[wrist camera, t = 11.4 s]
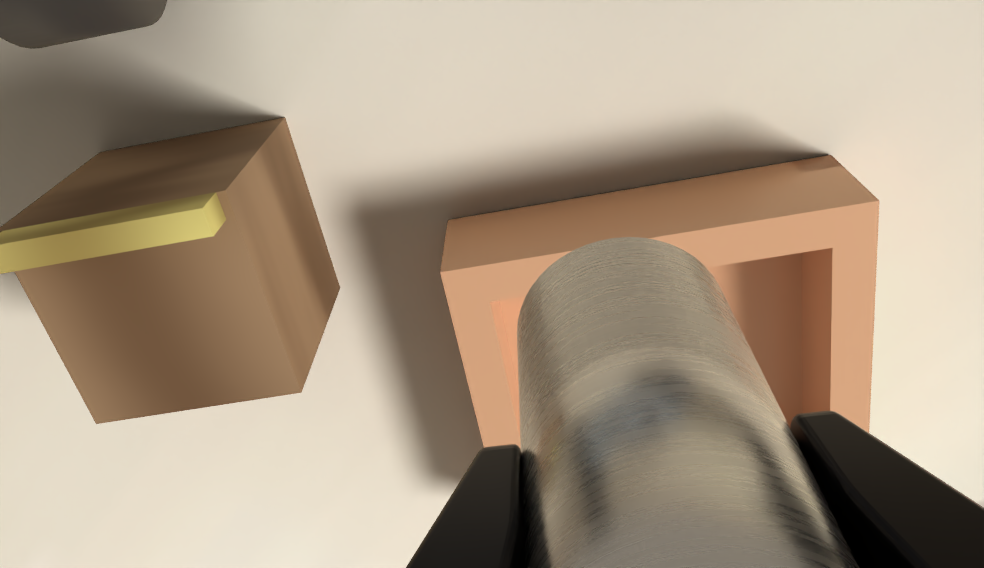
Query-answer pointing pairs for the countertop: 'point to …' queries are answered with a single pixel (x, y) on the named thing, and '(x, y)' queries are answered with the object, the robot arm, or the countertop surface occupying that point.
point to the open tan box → (720, 248)
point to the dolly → (72, 19)
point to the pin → (656, 425)
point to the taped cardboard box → (179, 272)
